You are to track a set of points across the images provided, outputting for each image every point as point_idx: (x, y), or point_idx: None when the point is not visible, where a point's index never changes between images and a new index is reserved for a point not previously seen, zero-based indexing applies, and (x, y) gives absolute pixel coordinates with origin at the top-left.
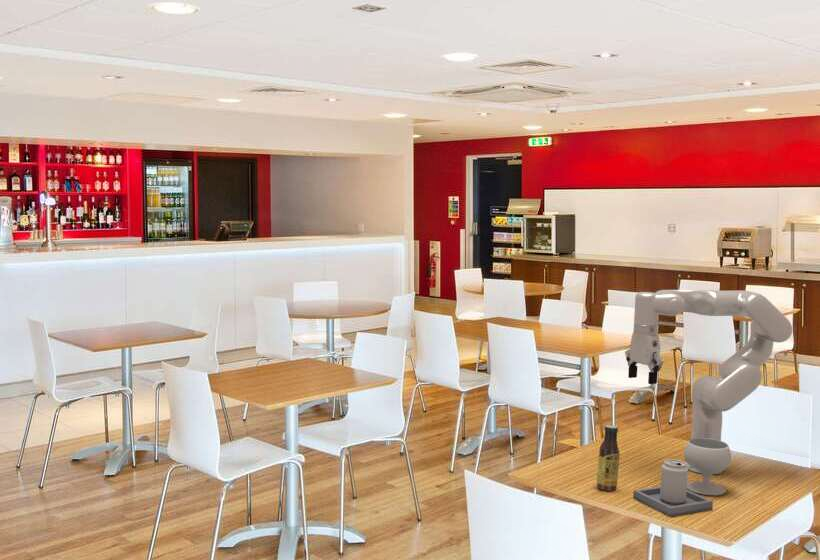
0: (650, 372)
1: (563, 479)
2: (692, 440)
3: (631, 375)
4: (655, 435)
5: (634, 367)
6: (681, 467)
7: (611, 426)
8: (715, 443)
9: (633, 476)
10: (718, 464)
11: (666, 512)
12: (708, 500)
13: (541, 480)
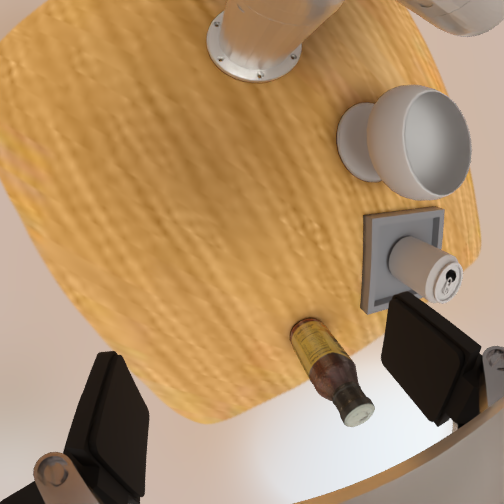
0: (448, 414)
1: (239, 380)
2: (401, 150)
3: (141, 417)
4: (7, 39)
5: (119, 464)
6: (459, 279)
7: (360, 416)
8: (413, 90)
9: (258, 245)
10: (450, 159)
11: None
12: (440, 214)
13: (235, 407)
